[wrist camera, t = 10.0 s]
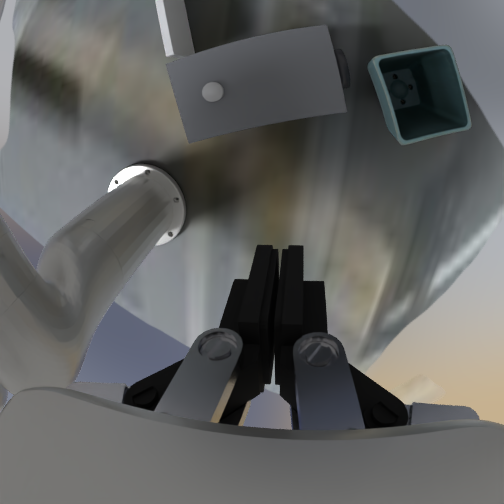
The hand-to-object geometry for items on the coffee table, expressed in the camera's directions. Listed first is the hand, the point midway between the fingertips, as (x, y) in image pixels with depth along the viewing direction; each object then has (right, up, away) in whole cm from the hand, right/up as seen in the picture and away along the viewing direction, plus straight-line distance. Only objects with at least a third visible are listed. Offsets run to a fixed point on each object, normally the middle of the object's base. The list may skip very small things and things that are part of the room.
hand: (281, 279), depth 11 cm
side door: (-10, +30, +15) cm, 35 cm away
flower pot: (+16, +20, +17) cm, 31 cm away
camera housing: (0, +21, +19) cm, 28 cm away
